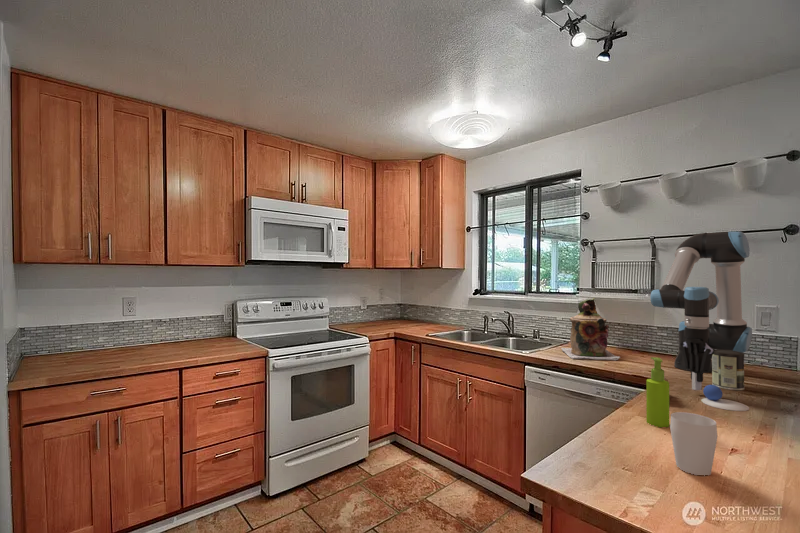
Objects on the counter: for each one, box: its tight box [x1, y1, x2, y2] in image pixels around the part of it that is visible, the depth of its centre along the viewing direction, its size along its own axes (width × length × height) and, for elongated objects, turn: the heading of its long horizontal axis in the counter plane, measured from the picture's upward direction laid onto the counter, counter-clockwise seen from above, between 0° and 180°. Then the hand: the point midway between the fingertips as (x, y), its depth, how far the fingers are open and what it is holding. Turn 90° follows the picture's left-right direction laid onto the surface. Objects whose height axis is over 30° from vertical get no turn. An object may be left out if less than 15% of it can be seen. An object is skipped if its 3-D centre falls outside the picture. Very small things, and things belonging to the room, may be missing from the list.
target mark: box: [700, 397, 750, 412], centre depth 138 cm, size 13×13×1 cm
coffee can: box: [711, 349, 745, 391], centre depth 160 cm, size 10×10×14 cm
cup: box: [669, 411, 718, 477], centre depth 93 cm, size 9×9×12 cm
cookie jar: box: [560, 297, 621, 361], centre depth 217 cm, size 25×25×32 cm
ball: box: [702, 384, 723, 401], centre depth 143 cm, size 6×6×6 cm
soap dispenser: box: [645, 356, 670, 428], centre depth 121 cm, size 6×7×20 cm
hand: (696, 389), depth 149 cm, fingers closed
